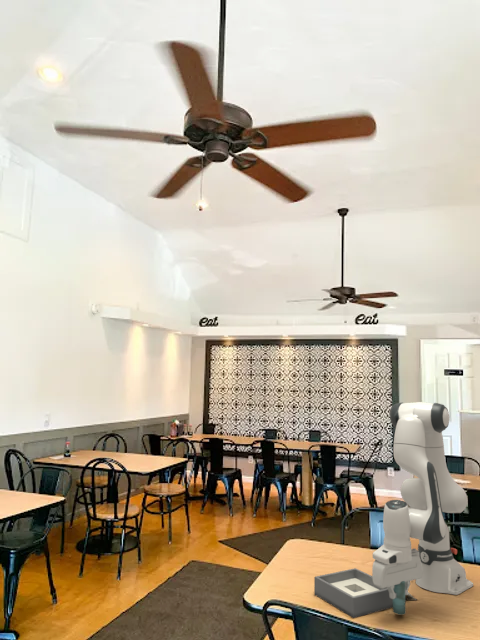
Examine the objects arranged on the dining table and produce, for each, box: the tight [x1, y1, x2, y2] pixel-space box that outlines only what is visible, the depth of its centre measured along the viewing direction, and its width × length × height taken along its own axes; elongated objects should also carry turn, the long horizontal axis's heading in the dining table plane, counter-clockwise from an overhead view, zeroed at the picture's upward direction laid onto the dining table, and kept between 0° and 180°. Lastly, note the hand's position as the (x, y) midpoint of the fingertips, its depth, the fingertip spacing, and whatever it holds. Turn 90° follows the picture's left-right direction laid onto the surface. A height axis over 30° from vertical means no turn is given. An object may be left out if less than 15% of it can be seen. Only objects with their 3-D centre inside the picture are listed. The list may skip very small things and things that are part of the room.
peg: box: [392, 581, 407, 616], centre depth 155 cm, size 4×4×10 cm
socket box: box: [313, 567, 393, 619], centre depth 166 cm, size 20×20×6 cm
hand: (398, 596), depth 155 cm, fingers closed on peg, 4 cm apart
